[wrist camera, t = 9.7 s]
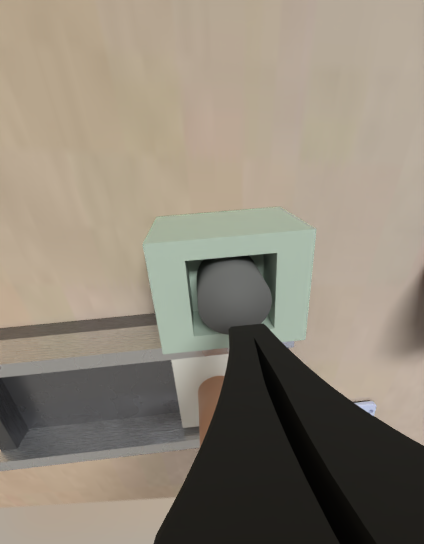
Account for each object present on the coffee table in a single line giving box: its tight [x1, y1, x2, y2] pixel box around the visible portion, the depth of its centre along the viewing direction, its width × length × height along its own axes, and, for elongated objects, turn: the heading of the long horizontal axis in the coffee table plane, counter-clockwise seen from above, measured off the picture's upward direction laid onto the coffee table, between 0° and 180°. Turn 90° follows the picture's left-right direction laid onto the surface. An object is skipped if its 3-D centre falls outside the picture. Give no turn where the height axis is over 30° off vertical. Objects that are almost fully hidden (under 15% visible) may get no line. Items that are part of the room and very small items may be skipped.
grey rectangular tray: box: [0, 314, 294, 471], centre depth 20 cm, size 10×22×4 cm, turn 94°
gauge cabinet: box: [143, 207, 316, 354], centre depth 16 cm, size 6×8×6 cm
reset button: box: [197, 255, 272, 335], centre depth 14 cm, size 4×4×3 cm
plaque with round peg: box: [171, 354, 229, 447], centre depth 18 cm, size 7×6×6 cm
